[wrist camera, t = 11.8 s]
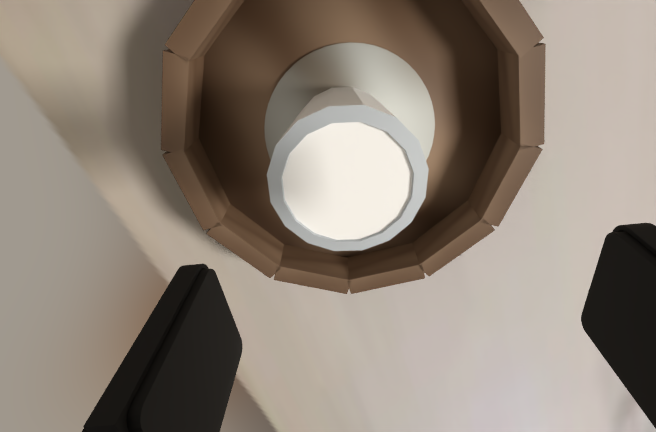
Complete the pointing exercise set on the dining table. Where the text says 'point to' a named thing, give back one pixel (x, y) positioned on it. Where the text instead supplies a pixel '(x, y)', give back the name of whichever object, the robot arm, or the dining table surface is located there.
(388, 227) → the white cup
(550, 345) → the dining table surface
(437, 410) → the dining table surface
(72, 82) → the dining table surface
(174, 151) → the round wooden tray
